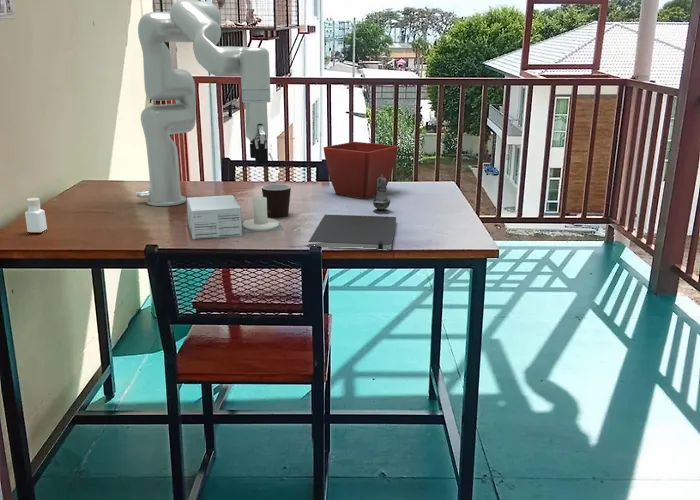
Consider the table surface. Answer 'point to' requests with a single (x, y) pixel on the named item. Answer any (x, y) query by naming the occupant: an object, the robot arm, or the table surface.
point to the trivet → (261, 231)
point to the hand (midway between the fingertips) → (258, 160)
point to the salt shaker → (35, 216)
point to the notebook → (355, 231)
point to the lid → (260, 217)
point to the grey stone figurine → (381, 197)
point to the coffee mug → (277, 199)
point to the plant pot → (359, 167)
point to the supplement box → (214, 217)
